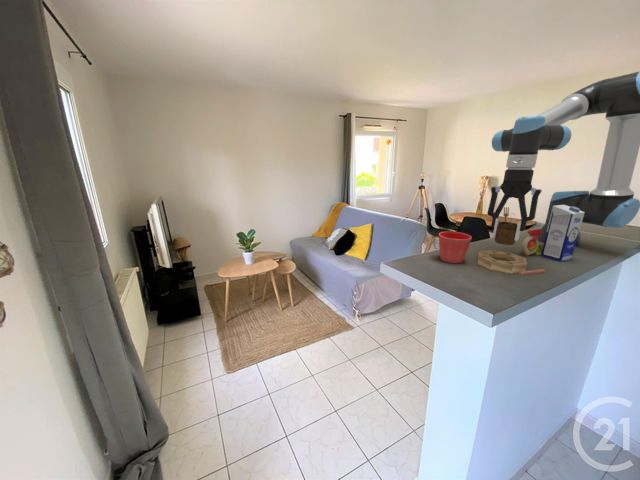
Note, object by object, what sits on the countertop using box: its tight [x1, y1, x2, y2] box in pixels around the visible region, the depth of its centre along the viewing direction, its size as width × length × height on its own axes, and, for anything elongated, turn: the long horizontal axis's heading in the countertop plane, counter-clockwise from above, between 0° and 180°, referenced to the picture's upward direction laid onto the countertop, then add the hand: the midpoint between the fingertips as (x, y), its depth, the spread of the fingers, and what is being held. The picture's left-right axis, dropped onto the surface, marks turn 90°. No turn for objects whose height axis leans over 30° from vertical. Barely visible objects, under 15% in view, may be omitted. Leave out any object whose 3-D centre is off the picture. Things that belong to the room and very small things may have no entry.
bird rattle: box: [521, 228, 544, 257], centre depth 104 cm, size 6×11×9 cm
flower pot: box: [438, 230, 473, 264], centre depth 99 cm, size 11×11×10 cm
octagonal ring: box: [477, 249, 528, 274], centre depth 94 cm, size 14×14×3 cm
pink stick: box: [518, 268, 547, 276], centre depth 88 cm, size 10×1×1 cm, turn 103°
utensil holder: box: [494, 206, 518, 246], centre depth 91 cm, size 6×6×12 cm
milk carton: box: [540, 205, 585, 263], centre depth 99 cm, size 7×7×20 cm
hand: (505, 237), depth 92 cm, fingers closed on utensil holder, 6 cm apart
